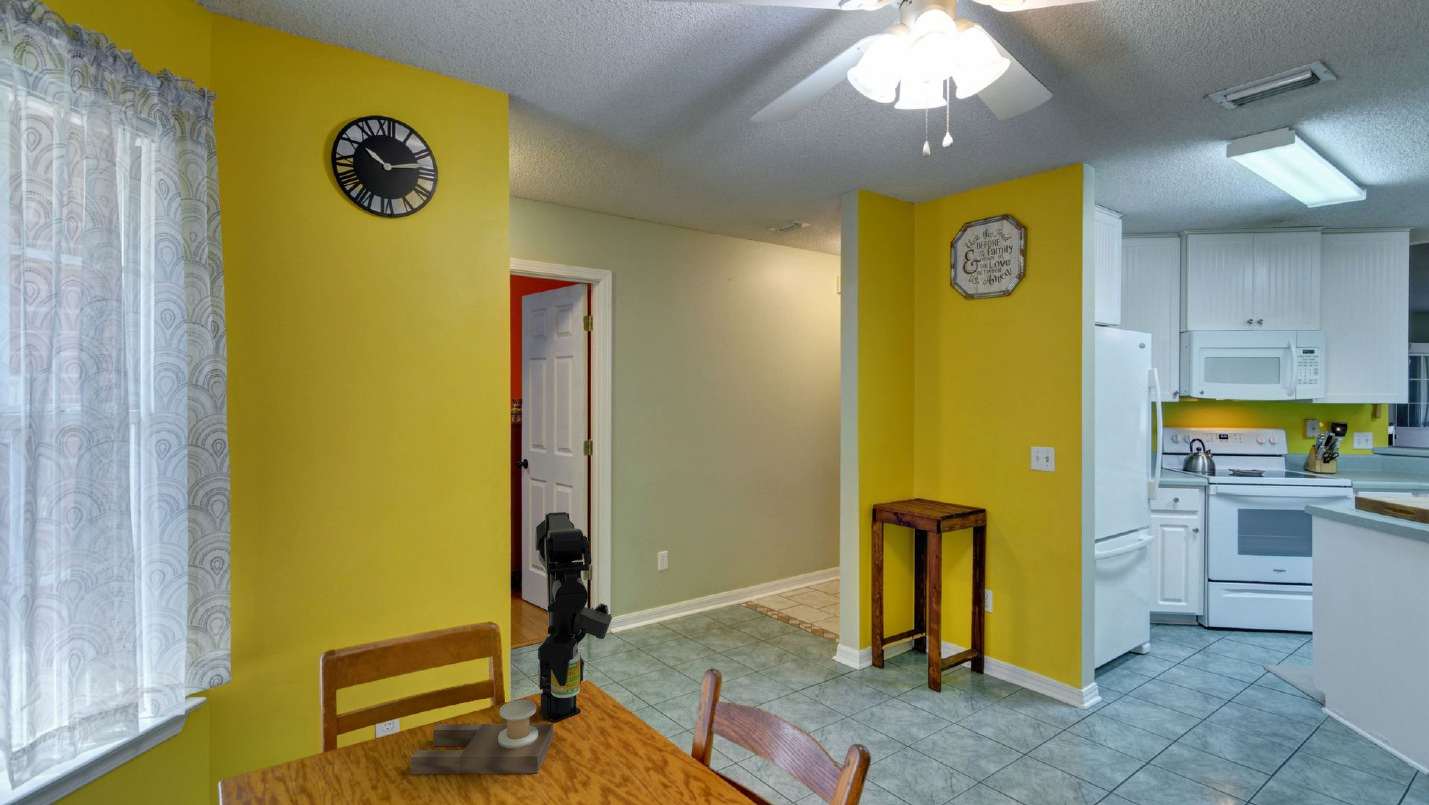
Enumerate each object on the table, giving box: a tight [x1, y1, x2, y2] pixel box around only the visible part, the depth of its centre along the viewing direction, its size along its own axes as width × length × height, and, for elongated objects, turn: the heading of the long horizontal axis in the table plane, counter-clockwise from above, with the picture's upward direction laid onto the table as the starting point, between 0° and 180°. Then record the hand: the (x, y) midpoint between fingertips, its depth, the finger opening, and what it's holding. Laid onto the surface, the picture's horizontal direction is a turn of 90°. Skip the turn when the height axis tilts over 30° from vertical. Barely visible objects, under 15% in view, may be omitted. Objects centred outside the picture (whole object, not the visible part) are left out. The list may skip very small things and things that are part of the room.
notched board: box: [410, 722, 554, 775], centre depth 124 cm, size 22×12×3 cm, turn 91°
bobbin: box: [498, 699, 538, 749], centre depth 124 cm, size 7×7×6 cm
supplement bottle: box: [551, 639, 581, 698], centre depth 129 cm, size 5×5×10 cm
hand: (565, 679), depth 129 cm, fingers closed on supplement bottle, 5 cm apart
